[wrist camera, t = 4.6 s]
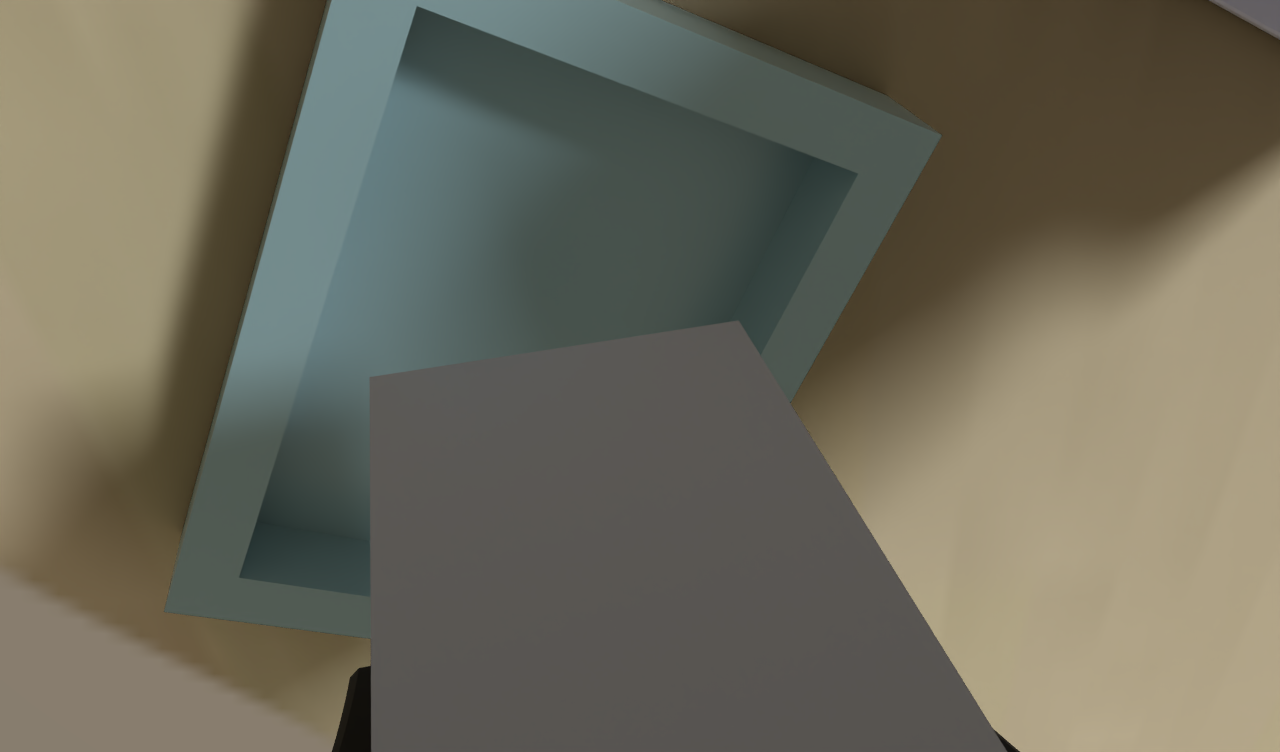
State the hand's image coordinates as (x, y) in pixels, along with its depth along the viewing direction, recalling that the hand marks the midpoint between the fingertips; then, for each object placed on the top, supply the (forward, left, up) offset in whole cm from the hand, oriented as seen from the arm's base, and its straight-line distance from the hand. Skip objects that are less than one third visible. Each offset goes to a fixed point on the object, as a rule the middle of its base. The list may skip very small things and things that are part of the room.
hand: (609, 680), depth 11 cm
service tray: (0, 0, -8) cm, 8 cm away
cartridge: (0, 0, -2) cm, 2 cm away
